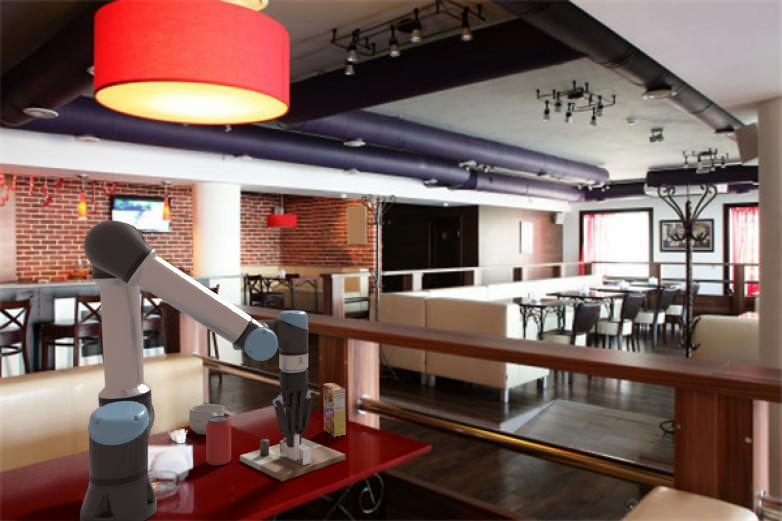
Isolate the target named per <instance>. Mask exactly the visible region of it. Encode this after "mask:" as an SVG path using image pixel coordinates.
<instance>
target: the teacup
mask: <svg viewBox="0 0 782 521" xmlns="http://www.w3.org/2000/svg"><path fill="white" fill-rule="evenodd" d="M188 410H189V414H188V416H189V418H188V420H189V422H188V423H189V428H190V429H191V430H192V431H193V432H194V433H195V434H197V435H206V426H207V423H208V419H209V418H211V417H214V416H225V406H224V405H221V404H216V403H213V404H212V403H207V404H206V403H205V404H197V405H193V406H191V407H189V409H188Z"/></svg>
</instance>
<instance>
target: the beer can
mask: <svg viewBox="0 0 782 521" xmlns="http://www.w3.org/2000/svg"><path fill="white" fill-rule="evenodd" d="M205 439H206V440H205V441H206V442H205V446H206V447H205V449H206V450H205V451H206V453H205V458H206V460H205V461H206V463H207V464H208V465H209V466H224V465H225V464H229V463H230V461H231V460H232V423H231V421H230V416H227V415H224V416H214V417H211V418H209V419H208V423H207V426H206V434H205Z"/></svg>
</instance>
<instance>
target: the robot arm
mask: <svg viewBox="0 0 782 521" xmlns="http://www.w3.org/2000/svg"><path fill="white" fill-rule="evenodd" d="M83 250H84V251H83V252H84V254H85V257H86V259H87V260H88V261H89V262H90V264H91V274H92V275H91V276H92V281H93V282H94V283H95V284H97V285H98V286H99V292H100V309H101V310H100V312H101V332H102V349H103V350H102V351H103V353H102V354H103V370H104V371H103V372H104V374H103V375H104V387H103V388H102V390H100V391H99V393H97V394H98V396H97V397H98V407H97V408H96V409H95V410H93V411H92V413H91V415H90V416H89V423H88V425H87V432H88V435H89V436H88V440H89V441H88V447H89V448H88V449H89V450H88V458H89V460H88V464H89V465H88V466H89V467H88V470H89V471H88V472H89V473H88V474H89V476H88V477H89V478H88V480H89V482H88V487H87V491H86V493H85V497H84V499H83V502H82V505H81V508H80V514H79V521H146V520H148V519H150V517H152V516H153V515H154V514H155V513H156V512H157V510H158V509H157V508H158V506H157V503H158V501H157V494H156V493H155V490H154V488H153V484H152V482H151V479H150V477H149V438H150V434H151V430H152V428H153V425H154V422H155V414H156V413H155V409H154V405H153V400H152V399H153V398H152V387H151V385H149V384H148V383H146V382H145V376H144V375H145V374H144V373H145V369H144V354H143V353H144V352H143V351H144V350H143V333H142V332H143V330H142V328H143V327H142V311H141V310H142V309H141V308H142V307H141V292H140V290H141V288H142V289H144V290H146V291H148V292H149V293H151V295H153V296H155V297H157V298H159V299H160V300H161V301H164V302H165V303H167V304H168V305H170V306H172V308H175V310H177V311H179V312H181V313H182V314H184V315H186V316H188V317H189V318H190V319H192V320H194V321H195V322H197V323H199V324H200V325H202V326H204V327H205V328H206V329H208V330H210V331H211V332H212V333H214V334H216V335H218V336H219V337H221V338H223V339H224V340H225V341H227V342H228V343H230V344H231V345H232V349H233V350H235V351H242V352H244V353H246V355H247V356H248V357H249V358H251V359H252V360H255V361H258V362H259V361H260V362H263V361H267V360H269V359H271V358H272V357H273V356H275V355H276V353H277V351H278V349H279V355H278V356H279V360H278V362H279V364H278V365H279V366H278V367H279V369H280V371H279V374H278V376H279V377H278V378H279V386H280V389H279V392H278V396H277V397H276V398H272V399H271V402H270V403H271V405H273V407H274V411H275V415H276V420H277V425H278V429H279V432H280V433H281V434H283V435H286V438H287V447H289V458H291V459H293V460H298V459H299V445H301V438H302V435H304V433H305V430H307V429H308V428H309V423H310V418H311V412H312V407H313V401H314V399H315V398H316V394H317V393H316V392H313V391H311V390H309V387H308V384H309V370H308V368H309V320H308V319H309V318H308V314H307V312H306V311H303V310H283V311H280V312H279V314H278V318H275V319H255V318H253V317H252V316H250V315H249V314H247V313H245V312H244V311H243V310H241V309H240V308H238V307H237V306H235V305H233V304H232V303H230V302H229V301H227V300H226V299H224V298H223V297H221V296H219V295H218V294H217V293H215V292H213V291H212V290H210V288H207V287H206V286H204V285H203V284H201V283H200V282H198V281H197V280H195V279H194V278H192V277H191V276H190V275H187V274H186V273H185V272H183V271H182V270H180V269H178V268H177V267H175V266H174V265H172V264H171V263H169V262H168V261H166V260H164V259H163V258H161V257H160V256H159V255H158V253H157V248H155V247H153V246H151V245H150V244H149V243H148V242H147V241H146V239H145V236H144V235H143V233H142V232H141V231H140V230H139V229H138V228H137V227H136V226H134V225H132V224H130V223H127V222H123V221H119V220H111V219H110V220H105V221H104V220H103V221H102V222H98V223H97V224H96V225H94V226H92V227H91V228H90V229H89V230H88V232H87V234H86V236H85V237H84V241H83ZM140 287H141V288H140Z"/></svg>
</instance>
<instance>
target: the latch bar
mask: <svg viewBox="0 0 782 521" xmlns="http://www.w3.org/2000/svg"><path fill="white" fill-rule="evenodd" d="M279 444H280V456H282V457H284V458H287V459H289V460H291V461H294V462H296V463H298V464H301V465H306V464H309V463H311V448H310V447H307V446H305V445H302V444H301V445H299V459H298V460H293V459H291V458H289V447H287V437H283V438H282V440H280V441H279Z"/></svg>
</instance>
